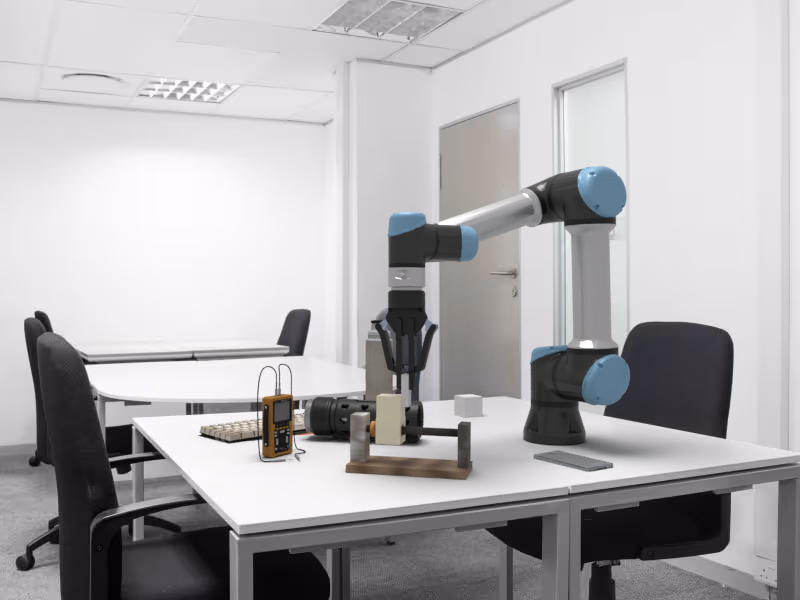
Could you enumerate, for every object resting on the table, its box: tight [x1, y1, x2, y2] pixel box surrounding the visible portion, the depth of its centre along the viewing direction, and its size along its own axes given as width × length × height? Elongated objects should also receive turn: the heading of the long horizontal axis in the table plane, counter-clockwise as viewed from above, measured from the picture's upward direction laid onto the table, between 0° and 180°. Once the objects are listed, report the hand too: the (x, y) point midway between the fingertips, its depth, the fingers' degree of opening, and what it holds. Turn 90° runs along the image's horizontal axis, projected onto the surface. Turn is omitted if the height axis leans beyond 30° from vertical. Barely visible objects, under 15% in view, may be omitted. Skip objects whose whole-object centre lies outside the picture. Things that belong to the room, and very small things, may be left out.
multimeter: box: [256, 363, 306, 463], centre depth 170 cm, size 15×10×20 cm
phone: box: [533, 450, 614, 473], centre depth 167 cm, size 8×16×1 cm, turn 34°
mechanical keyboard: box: [197, 412, 314, 444], centre depth 202 cm, size 38×19×3 cm, turn 134°
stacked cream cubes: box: [375, 393, 406, 446], centre depth 159 cm, size 5×5×10 cm
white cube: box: [453, 393, 484, 419], centre depth 230 cm, size 6×6×6 cm
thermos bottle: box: [364, 319, 394, 400], centre depth 228 cm, size 8×8×28 cm
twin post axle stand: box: [345, 412, 474, 480], centre depth 158 cm, size 24×10×11 cm, turn 77°
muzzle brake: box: [303, 396, 425, 443], centre depth 190 cm, size 10×28×10 cm, turn 78°
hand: (406, 406), depth 158 cm, fingers closed
